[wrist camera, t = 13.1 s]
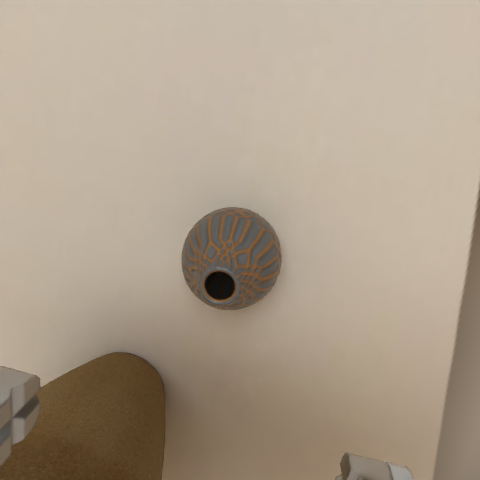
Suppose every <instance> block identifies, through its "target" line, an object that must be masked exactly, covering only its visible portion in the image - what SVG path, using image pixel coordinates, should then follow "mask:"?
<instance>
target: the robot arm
mask: <svg viewBox="0 0 480 480" xmlns="http://www.w3.org/2000/svg"><path fill="white" fill-rule="evenodd" d="M39 389H40V378H39V377H38V376H36V375H32V374H29V373H25V372H22V371H18V370H15V369H11V368H7V367H4V366H0V467H1V466H2V465H3V463H4V462H5V461H6V460H7V459H8V458H9V457H10V455H11V452H12V445H14V444H16V443H18V442H20V441H23V440H24V439H25V438H26V437H27V436H28V434H29V433H30V432H31V431H32V429H33V427H34V425H35V423H36V421H37V419H38V416H39V412H40V401H39V399H38V398H37V396H36V395H35V394H36V393H37V392H38V391H39ZM340 467H341V474H340V475H339V476H337V477H336V478H335V480H413V477H412V474H411V471H410V470H409V469H408V467H406V466H401V465H397V464H393V463H388V462H384V461H379V460H375V459H371V458H367V457H363V456H359V455H354V454H350V453H345V454H344V455H343V457H342V460H341V463H340Z"/></svg>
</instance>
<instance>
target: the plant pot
mask: <svg viewBox="0 0 480 480" xmlns="http://www.w3.org/2000/svg"><path fill="white" fill-rule="evenodd" d="M35 395H36V396H37V398H38V399H39V401H40V412H39V416H38V419H37V421H36V423H35V425H34V427H33V429H32V431H31V432H30V433H29V434H28V436H27V437H26V438H25V439H24V440H23V441H20V442H18V443H16V444H14V445H12V452H11V455H10V457H9V458H8V459H7V460H6V461H5V462H4V463H3V465H2V466H1V467H0V480H162V470H163V460H164V444H165V397H164V386H163V382H162V380H161V377H160V376H159V374H158V372H157V371H156V370H155V369H154V368H153V367H152V366H151V365H150V364H149V363H148V362H147V361H145V360H144V359H142V358H140V357H138V356H135V355H133V354H129V353H121V352H115V353H110V354H107V355H104V356H102V357H99V358H97V359H95V360H92V361H90V362H88V363H86V364H84V365H82V366H80V367H78V368H76V369H74V370H72V371H70V372H68V373H66V374H64V375H62V376H60V377H58V378H57V379H55V380H53V381H51V382H49V383H48V384H46V385H44V386H43V387H41V388H40V389H39V391H38V392H37V393H36V394H35Z"/></svg>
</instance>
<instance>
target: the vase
mask: <svg viewBox="0 0 480 480" xmlns="http://www.w3.org/2000/svg"><path fill="white" fill-rule="evenodd" d="M280 267H281V248H280V244H279V240H278V237H277V235H276V233H275V231H274V230H273V228H272V227H271V225H270V224H269V223H268V222H267V221H266V220H265V219H264V218H262V217H261V216H260V215H258V214H256V213H255V212H253V211H250V210H247V209H243V208H236V207H229V208H222V209H218V210H216V211H213V212H211V213H209V214H208V215H206V216H204V217H203V218H202V219H201V220H199V221H198V222H197V223H196V224H195V225H194V227H193V228H192V229H191V231H190V232H189V234H188V236H187V238H186V240H185V243H184V246H183V250H182V270H183V274H184V278H185V280H186V282H187V284H188V286H189V288H190V289H191V291H192V292H193V293H194V294H195V296H196V297H198V298H199V299H200V300H201V301H203V302H204V303H206V304H207V305H210V306H212V307H214V308H218V309H222V310H238V309H242V308H246V307H249V306H251V305H253V304H255V303H256V302H258V301H259V300H261V299H262V298H263V297H264V296H265V295H266V294H267V293H268V292H269V291H270V289H271V288H272V287H273V285H274V284H275V282H276V280H277V277H278V275H279V272H280Z"/></svg>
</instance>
